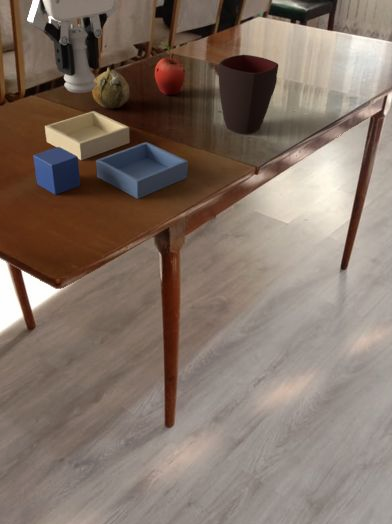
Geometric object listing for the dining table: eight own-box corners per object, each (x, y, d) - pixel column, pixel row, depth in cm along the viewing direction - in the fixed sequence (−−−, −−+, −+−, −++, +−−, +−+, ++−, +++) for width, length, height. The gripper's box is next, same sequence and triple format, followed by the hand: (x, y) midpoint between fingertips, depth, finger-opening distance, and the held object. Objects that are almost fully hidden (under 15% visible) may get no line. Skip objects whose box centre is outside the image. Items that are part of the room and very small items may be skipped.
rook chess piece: (57, 88, 88) (50, 27, 83) (79, 80, 91) (74, 20, 86) (81, 96, 87) (75, 33, 81) (102, 87, 89) (98, 26, 84)
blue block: (55, 195, 100) (51, 165, 96) (37, 184, 102) (32, 155, 99) (80, 185, 102) (77, 156, 99) (62, 175, 105) (58, 146, 102)
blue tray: (137, 199, 100) (137, 181, 98) (97, 177, 105) (95, 160, 103) (187, 177, 106) (187, 160, 104) (146, 158, 111) (146, 141, 109)
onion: (139, 105, 130) (138, 64, 125) (114, 116, 125) (112, 74, 120) (111, 96, 133) (108, 56, 128) (85, 107, 128) (82, 66, 123)
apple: (191, 91, 137) (192, 42, 130) (177, 101, 132) (178, 51, 126) (159, 85, 139) (159, 37, 133) (145, 95, 134) (144, 45, 128)
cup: (207, 128, 122) (211, 63, 114) (247, 109, 130) (253, 47, 123) (249, 142, 118) (256, 76, 110) (288, 122, 126) (297, 59, 118)
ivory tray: (81, 160, 109) (79, 143, 107) (46, 142, 114) (44, 125, 112) (129, 143, 116) (129, 127, 114) (94, 126, 121) (93, 110, 119)
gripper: (22, -81, 69) (44, 90, 81) (137, -91, 78) (141, 64, 90) (-14, -89, 73) (12, 75, 85) (100, -98, 82) (108, 52, 94)
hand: (78, 68), depth 87 cm, fingers closed on rook chess piece, 3 cm apart
